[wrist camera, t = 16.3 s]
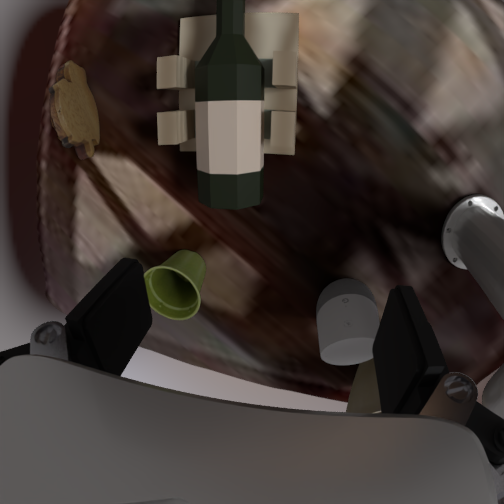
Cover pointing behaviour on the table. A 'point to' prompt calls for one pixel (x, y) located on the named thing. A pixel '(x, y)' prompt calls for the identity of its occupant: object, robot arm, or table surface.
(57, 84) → the wooden carving
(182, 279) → the plant pot
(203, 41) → the rest
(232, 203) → the wine bottle
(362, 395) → the plant pot
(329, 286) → the smart speaker
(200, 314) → the table surface
